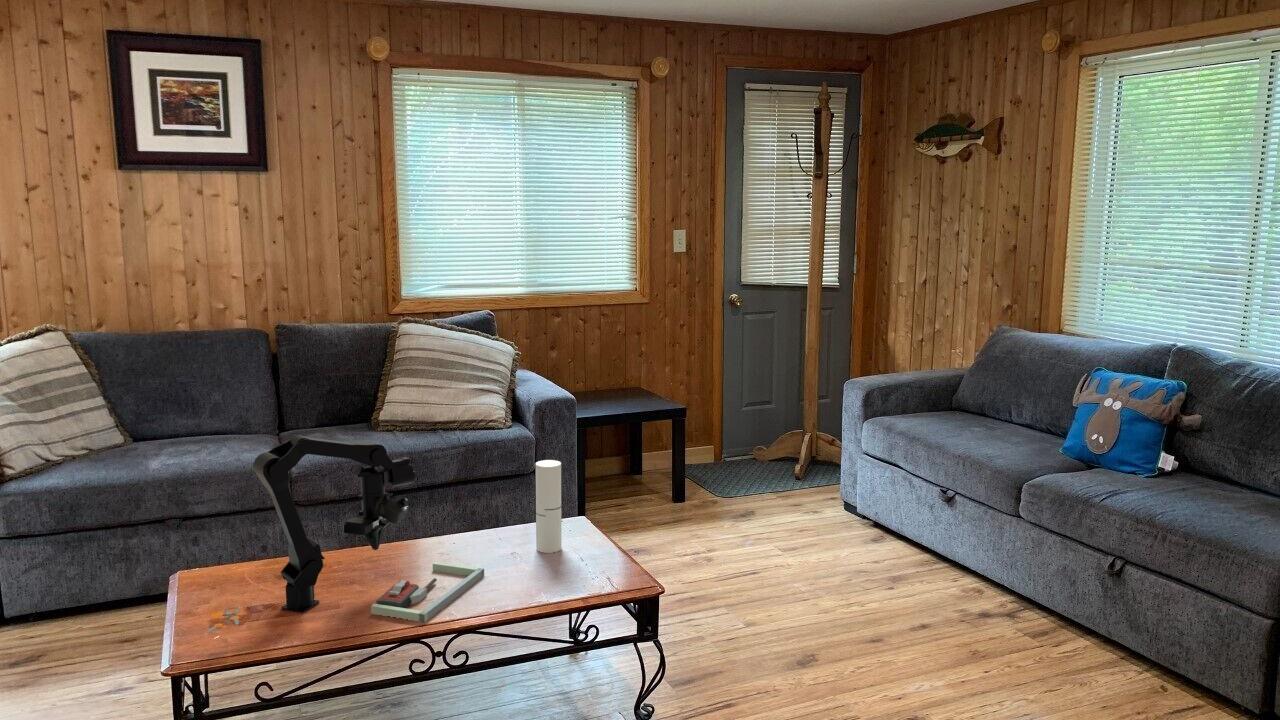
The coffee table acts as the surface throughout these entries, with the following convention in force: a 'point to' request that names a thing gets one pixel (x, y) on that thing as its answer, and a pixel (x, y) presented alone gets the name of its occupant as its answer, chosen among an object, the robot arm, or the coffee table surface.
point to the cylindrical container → (548, 506)
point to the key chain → (231, 617)
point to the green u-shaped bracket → (430, 611)
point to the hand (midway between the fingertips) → (375, 549)
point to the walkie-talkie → (404, 594)
